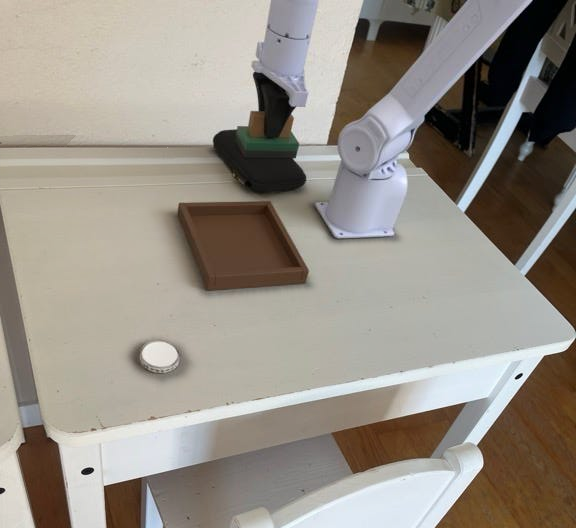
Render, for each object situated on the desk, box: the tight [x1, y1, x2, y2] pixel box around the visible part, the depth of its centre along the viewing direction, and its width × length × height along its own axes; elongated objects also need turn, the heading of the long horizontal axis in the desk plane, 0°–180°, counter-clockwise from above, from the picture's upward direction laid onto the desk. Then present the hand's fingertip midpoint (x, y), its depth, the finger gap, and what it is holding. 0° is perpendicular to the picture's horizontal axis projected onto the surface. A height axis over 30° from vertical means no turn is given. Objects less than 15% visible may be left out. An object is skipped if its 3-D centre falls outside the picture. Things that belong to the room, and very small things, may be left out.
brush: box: [235, 110, 300, 160], centre depth 88 cm, size 4×8×5 cm, turn 111°
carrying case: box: [212, 128, 307, 195], centre depth 91 cm, size 11×3×15 cm
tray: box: [177, 200, 310, 292], centre depth 78 cm, size 13×15×2 cm
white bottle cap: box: [139, 339, 181, 374], centre depth 63 cm, size 4×4×1 cm
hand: (269, 132), depth 88 cm, fingers closed on brush
